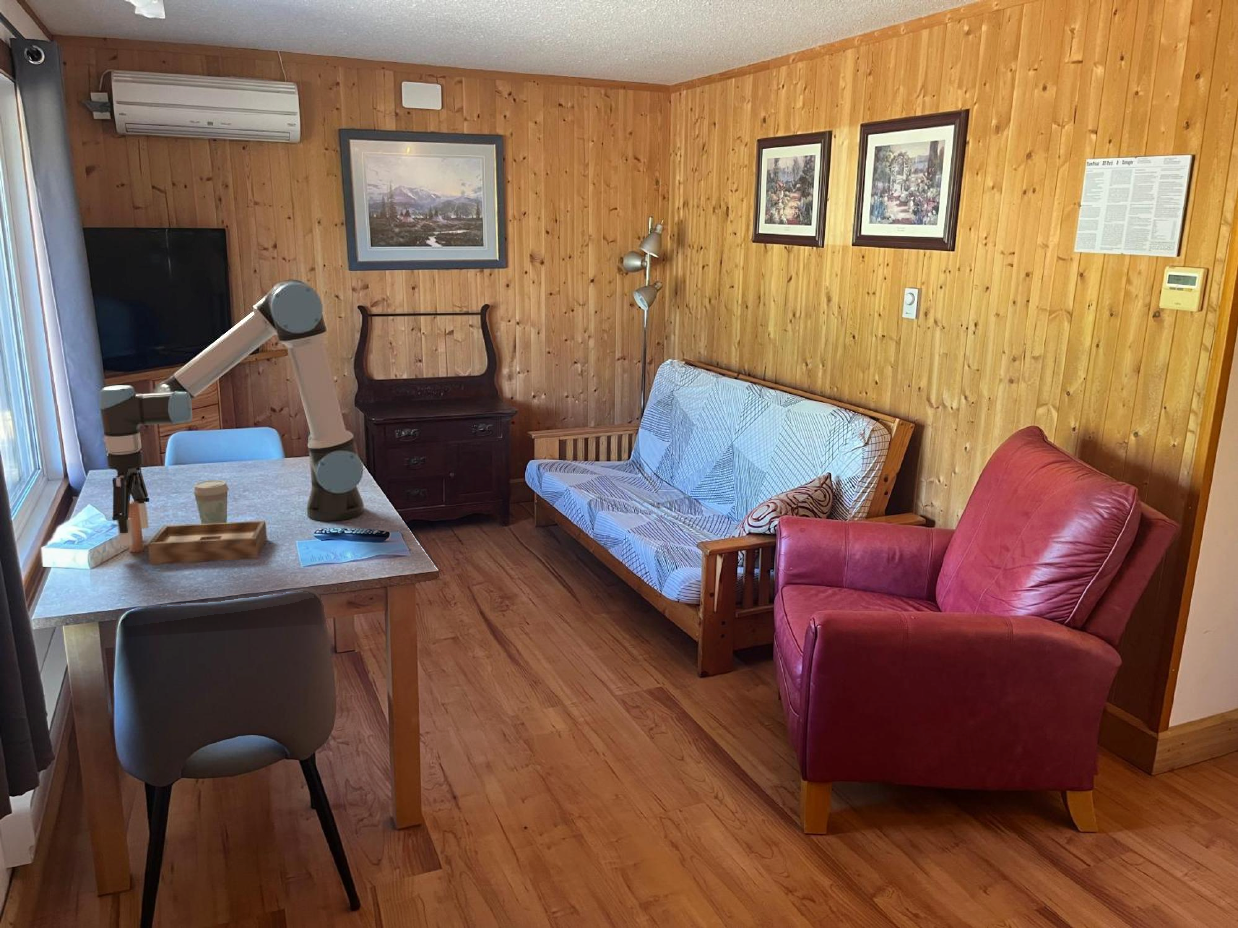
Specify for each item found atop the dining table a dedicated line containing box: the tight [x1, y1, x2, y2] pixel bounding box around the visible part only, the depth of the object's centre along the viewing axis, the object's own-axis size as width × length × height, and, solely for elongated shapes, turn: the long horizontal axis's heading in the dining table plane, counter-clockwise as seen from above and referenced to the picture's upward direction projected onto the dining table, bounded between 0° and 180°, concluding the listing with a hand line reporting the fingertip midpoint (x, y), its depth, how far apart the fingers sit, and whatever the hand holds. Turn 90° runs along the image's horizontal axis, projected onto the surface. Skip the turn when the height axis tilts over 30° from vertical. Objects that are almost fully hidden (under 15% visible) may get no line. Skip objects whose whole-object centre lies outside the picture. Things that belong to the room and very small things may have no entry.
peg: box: [128, 500, 145, 553], centre depth 232 cm, size 3×3×12 cm
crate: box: [147, 520, 268, 565], centre depth 232 cm, size 24×14×5 cm, turn 101°
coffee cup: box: [192, 479, 229, 524], centre depth 249 cm, size 8×8×12 cm
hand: (134, 536), depth 233 cm, fingers open, 12 cm apart
